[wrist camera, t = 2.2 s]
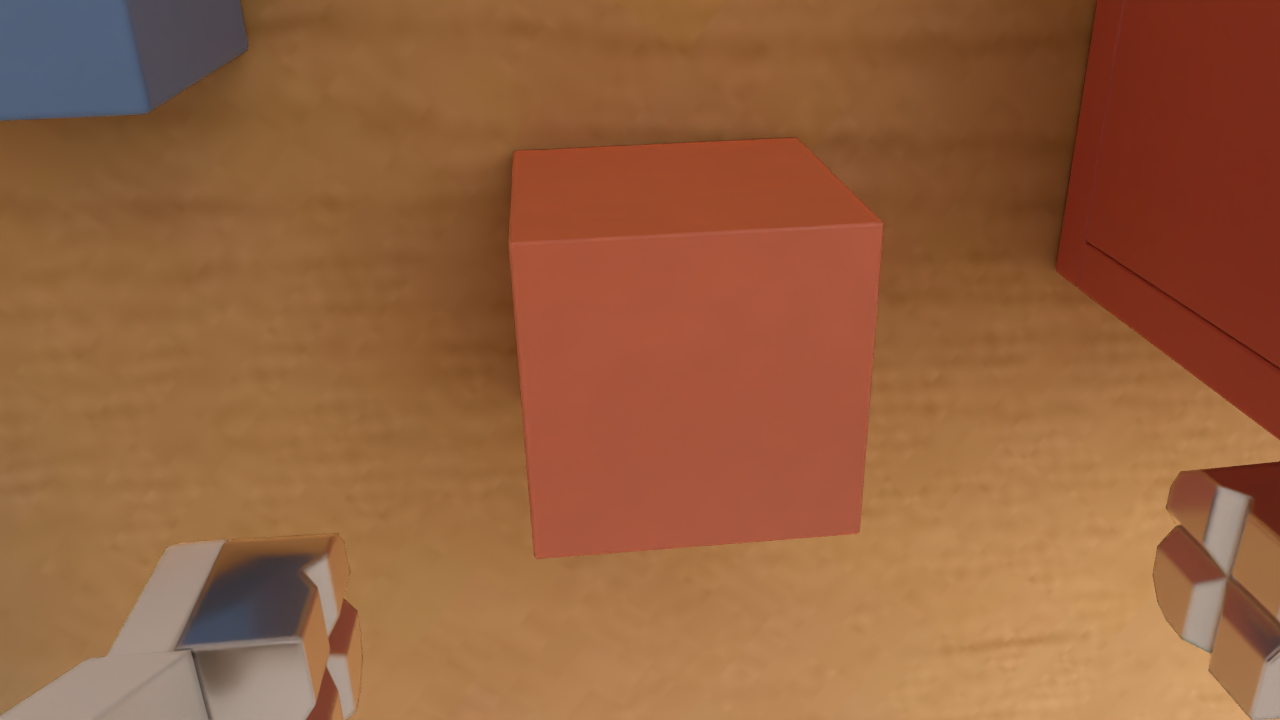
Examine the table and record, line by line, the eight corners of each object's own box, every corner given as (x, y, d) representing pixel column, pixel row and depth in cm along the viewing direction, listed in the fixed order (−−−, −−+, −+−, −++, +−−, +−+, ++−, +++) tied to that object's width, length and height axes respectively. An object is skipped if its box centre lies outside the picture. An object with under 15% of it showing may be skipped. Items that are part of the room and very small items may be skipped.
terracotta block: (512, 150, 16) (508, 243, 12) (797, 136, 16) (884, 221, 12) (532, 407, 18) (534, 561, 14) (787, 389, 18) (861, 534, 14)
